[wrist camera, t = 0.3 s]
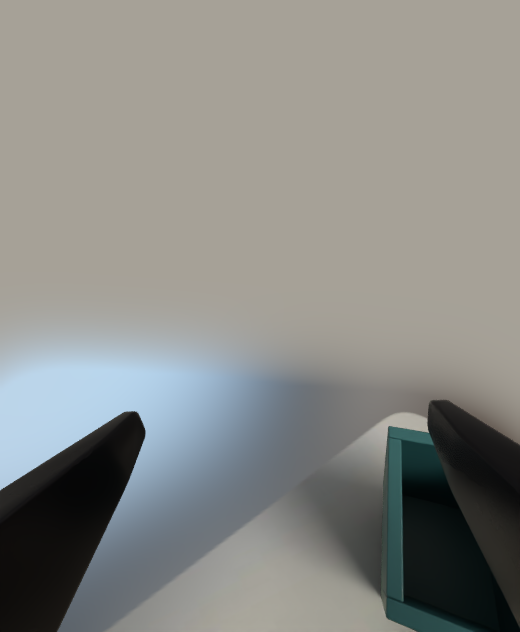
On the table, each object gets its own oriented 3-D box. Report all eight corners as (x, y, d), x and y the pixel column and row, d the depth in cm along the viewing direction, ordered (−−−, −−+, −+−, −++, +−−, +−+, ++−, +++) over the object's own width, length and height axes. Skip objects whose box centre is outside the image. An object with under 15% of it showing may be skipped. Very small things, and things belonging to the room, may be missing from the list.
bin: (511, 649, 14) (683, 745, 6) (380, 597, 16) (385, 618, 9) (488, 509, 17) (578, 457, 10) (383, 483, 20) (388, 425, 12)
